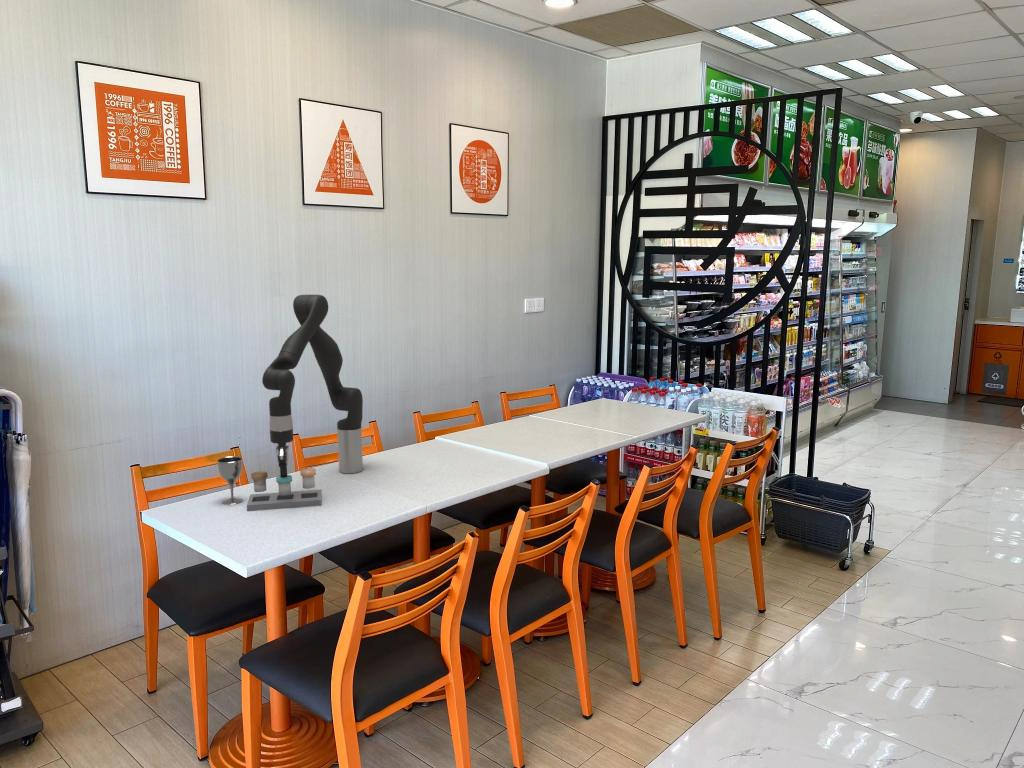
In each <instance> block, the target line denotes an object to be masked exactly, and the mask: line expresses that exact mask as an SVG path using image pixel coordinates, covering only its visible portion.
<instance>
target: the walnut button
mask: <svg viewBox="0 0 1024 768" xmlns="http://www.w3.org/2000/svg"><path fill="white" fill-rule="evenodd" d="M250 475H251V480H253V490H254V492H255V493H265V492H267V479H268V471H262V470H260V471H253V472H251V474H250Z"/></svg>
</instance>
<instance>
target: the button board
mask: <svg viewBox="0 0 1024 768" xmlns="http://www.w3.org/2000/svg"><path fill="white" fill-rule="evenodd" d="M320 506H322V489H311V490H310V489H305V490H293V491H292V490H291V494H290V495H286V496H281V495H279V491H278V492H266V493H265V492H262V493H251V494H249V497H248V500H247V503H246V511H247V512H252V511H264V510H265V511H267V510H277V509H291V508H292V509H293V508H305V507H320Z"/></svg>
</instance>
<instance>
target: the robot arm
mask: <svg viewBox="0 0 1024 768" xmlns="http://www.w3.org/2000/svg"><path fill="white" fill-rule="evenodd" d="M292 307H293V312H294V313H293V314H294V315H295V317H296V319H297V322H298V323H299V325H300V326H299V327H298V328H297V329H296V330H295V331H294V332H293V333H291V334H290V335H289V336H288V337H287V339H286V340H285V341H284V343H283V345H282V346H281V349H280V351H279V353H278V355H277V357H275V359H273V361H272V362H271V363H270V364H269V365H268V366H267V368H266V369H265V371H264V372H263V374H262V384H263V387H264V388H265V389H267V390H269V391H279V395H278V396H273V397H271V398H270V399H269V402H268V405H269V406H268V408H269V421H268V422H269V424H268V425H269V438H270V439H269V440H270V443H272V444H277V446H276V448H275V453H276V457H277V462H278V467H279V474H280V475H279V476H280V477H281V478H285V477H287V475H288V462H289V449H290V448H289V445H287V443H292V442H293V441H294V425H293V424H294V423H293V417H292V403H291V402H292V398H293V394H294V393H293V392H294V389H295V384H296V377H295V375H294V373H293V372H292V371H291V370H293V369H295V368H297V366H298V364H299V362H300V359H301V357H302V355H303V353H304V351H305V349H306V347H307V345H308V343H309V345H310V348H311V349H312V352H313V354H314V358H315V361H316V362H317V365H318V367H319V369H320V372H321V373H322V377H323V380H324V382H325V385H326V388H327V392H328V395H329V399H330V402H331V405H332V407H333V408H334V409H335V410H337V411H341V412H342V411H343V412H347V417H345V418H343V419H340V420H338V421H337V423H336V427H337V428H336V430H337V450H338V472H340V473H342V474H357V473H361V472H363V470H364V462H363V461H364V460H363V458H364V457H363V439H362V438H363V437H362V435H363V434H362V422H363V410H364V409H363V403H364V402H363V401H364V400H363V399H364V397H363V394H362V391H361V390H360V389H359V388H357V387H346V386H343V384H342V382H341V379H340V372H341V370H342V367H343V361H344V359H343V356H342V353H341V350H340V347H339V345H338V343H337V342H336V341H335V340H334V339H333V337H331V335H329V334H328V333H327V332H326V331H325V330H324V329H323V328H322V327H321V325H322V323H323V322H324V320H325V319H326V317H327V314H328V312H329V302H328V300H327V298H326V297H325V296H324V295H321V294H300V295H297V296H296V297H294V300H293V302H292Z"/></svg>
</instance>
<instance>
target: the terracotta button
mask: <svg viewBox="0 0 1024 768" xmlns="http://www.w3.org/2000/svg"><path fill="white" fill-rule="evenodd" d="M299 472H300V476H301V479H302V488H303V489H305V490H310V489H311V490H312V489H314V488H315V487H316V485H315V476H316V474H317V469H316V468H311V467H308V468H301V469H299Z"/></svg>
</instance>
